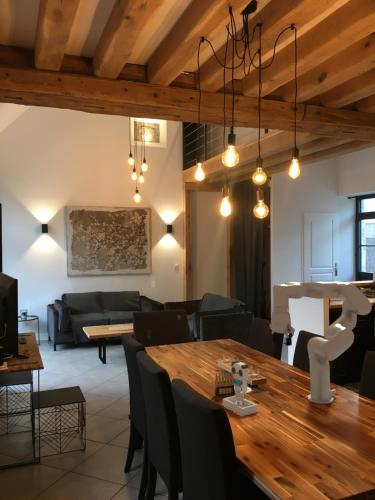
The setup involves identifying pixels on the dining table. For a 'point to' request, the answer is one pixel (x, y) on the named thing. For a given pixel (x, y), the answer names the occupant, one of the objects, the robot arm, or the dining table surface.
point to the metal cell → (239, 398)
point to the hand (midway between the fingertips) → (282, 343)
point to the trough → (231, 405)
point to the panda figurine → (240, 376)
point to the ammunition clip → (224, 385)
